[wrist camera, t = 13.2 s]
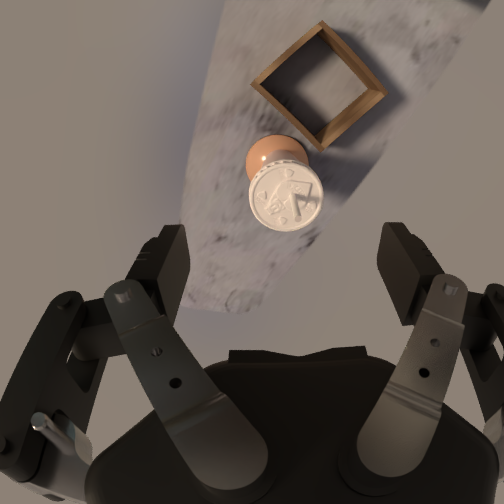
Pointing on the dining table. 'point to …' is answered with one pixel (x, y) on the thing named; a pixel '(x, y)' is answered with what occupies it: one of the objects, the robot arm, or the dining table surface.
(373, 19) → the dining table surface
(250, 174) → the coaster
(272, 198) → the smoothie
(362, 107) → the caddy
